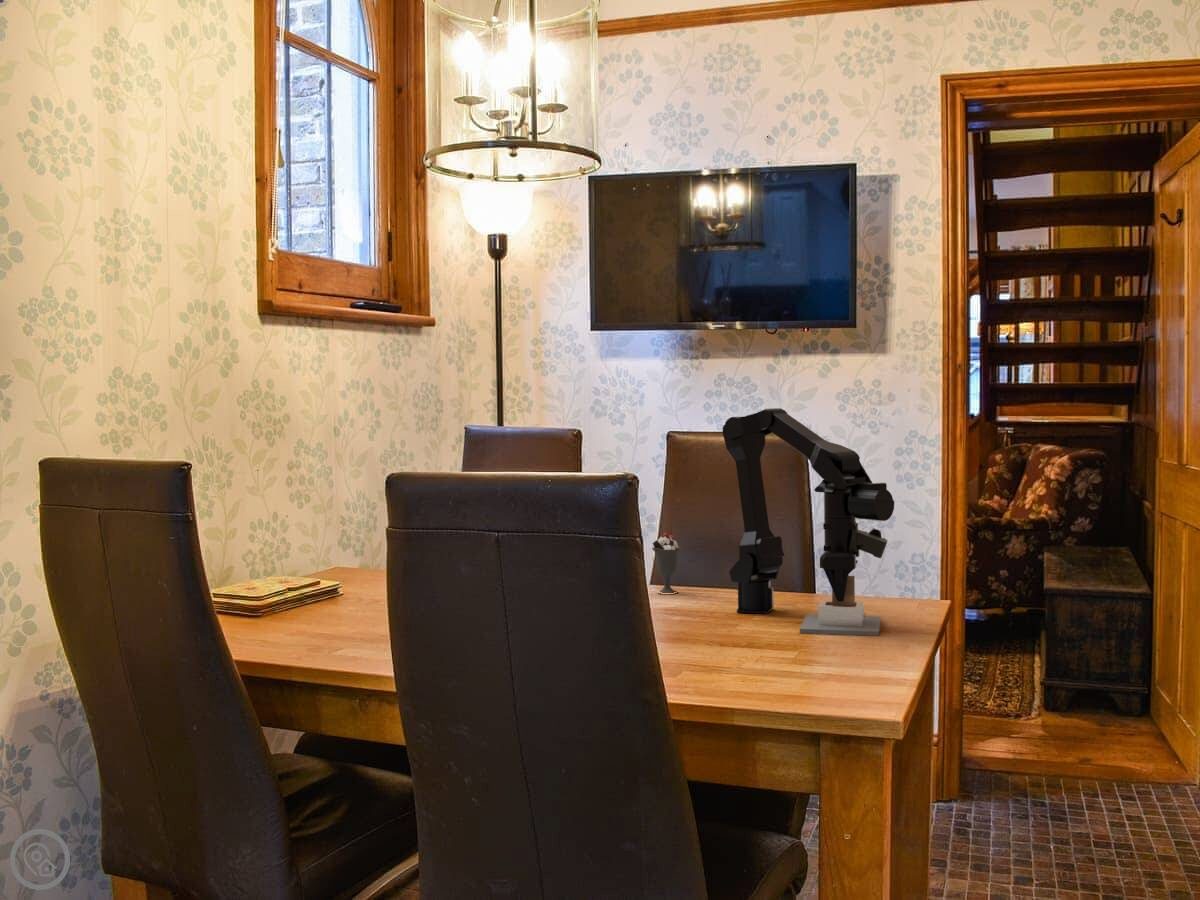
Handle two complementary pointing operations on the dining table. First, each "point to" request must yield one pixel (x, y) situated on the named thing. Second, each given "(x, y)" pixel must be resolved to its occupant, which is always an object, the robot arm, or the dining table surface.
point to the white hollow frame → (840, 614)
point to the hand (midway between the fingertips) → (840, 600)
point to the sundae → (666, 558)
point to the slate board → (841, 627)
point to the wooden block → (846, 594)
